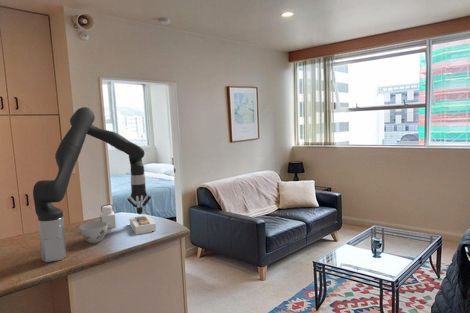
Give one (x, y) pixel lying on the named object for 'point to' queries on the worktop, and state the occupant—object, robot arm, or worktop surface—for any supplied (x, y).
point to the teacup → (94, 231)
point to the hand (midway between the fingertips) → (139, 213)
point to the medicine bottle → (108, 215)
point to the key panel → (142, 228)
